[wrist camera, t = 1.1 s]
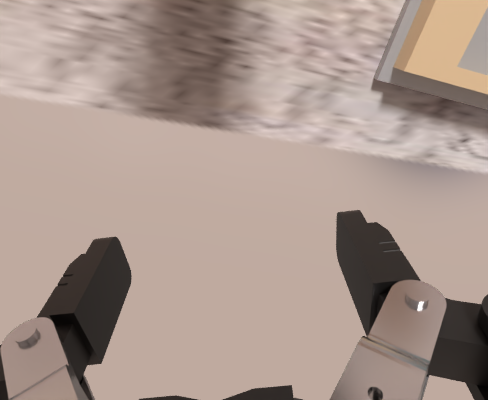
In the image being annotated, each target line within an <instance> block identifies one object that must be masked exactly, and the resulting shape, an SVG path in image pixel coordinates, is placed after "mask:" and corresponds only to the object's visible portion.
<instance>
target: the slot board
mask: <svg viewBox="0 0 488 400" xmlns="http://www.w3.org/2000/svg"><path fill="white" fill-rule="evenodd" d="M374 79H376V80H379V81H383V82H386V83H390V84H394V85H397V86H401V87H405V88H408V89H412V90H416V91H419V92H423V93H427V94H430V95H434V96H438V97H441V98H445V99H449V100H453V101H456V102H460V103H464V104H467V105H471V106H475V107H478V108H482V109H486V110H488V0H406V1H405V3H404V6H403V8H402V11H401V13H400V16H399V18H398V20H397V23H396V25H395V28H394V30H393V33H392V35H391V37H390V40H389V42H388V45H387V47H386V50H385V52H384V54H383V57H382V59H381V62H380V64H379V67H378V69H377V71H376V74H375V76H374Z"/></svg>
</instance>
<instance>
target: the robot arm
mask: <svg viewBox="0 0 488 400" xmlns="http://www.w3.org/2000/svg"><path fill="white" fill-rule="evenodd" d="M336 233H337V234H336V235H337V236H336V250H337V257H338V262H339V265H340V267H341V270H342V272H343V275H344V278H345V280H346V283H347V286H348V288H349V291H350V294H351V296H352V299H353V301H354V304H355V307H356V309H357V312H358V315H359V317H360V320H361V322H362V325H363V328H364V330H365V333H366V335H367V337H365V336H363V337H361V339H360V340H359V342H358V344H357V346H356V348H355V350H354V352H353V354H352V356H351V358H350V360H349V362H348V364H347V366H346V368H345V370H344V372H343V374H342V376H341V378H340V380H339V382H338V384H337V386H336V388H335V390H334V392H333V394H332V396H331V399H330V400H422V399H423V395H424V392H425V389H426V385H427V382H428V378H429V375H432V376H437V377H442V378H447V379H451V380H456V381H461V382H465V383H466V384H467V386H468V388H469V390H470V392H471V394H472V396H473V398H474V400H488V295H487V296H485V297H484V299H483V301H482V304H475V303H467V302H461V301H455V300H450V299H447V298H445V297H444V296H443V294H442V293H441V292H440V291H439V290H438V289H436V288H435V287H433V286H432V285H429V284H428V283H425V282H422V281H420V279H419V277H418V276H417V274H416V273H415V271H414V269H413V268H412V266H411V265H410V263H409V262H408V260H407V259H406V257H405V256H404V254H403V253H402V251H400V248H399V246H398V245H397V243H396V242H395V240H394V238H393V237H392V235H391V234H390V232H389V231H388V230H387V229H386V228H384V227H383V226H381V225H380V224H378V223H377V222H374V223H367V222H366V220H365V218H364V217H363V215H362V213H361V211H360V210H355V211H346V212H338V213H337V232H336ZM130 284H131V270H130V267H129V264H128V262H127V259H126V257H125V254H124V251H123V249H122V246H121V244H120V241H119V239H118V238H117V237H109V238H100V239H95V240H93V242H92V243H91V245H90V247H89V248H88V250H87V252H86V254H81V255H80V256H79V257H78V258H77V259H75V260H74V261H73V262H72V263H71V264H70V265H69V267H68V268H67V270H66V271H65V273H64V275H63V277H62V278H61V279H60V281H59V283H58V286H57V287H56V288H55V289H54V291H53V292H52V294H51V296H50V297H49V299H48V301H47V302H46V304H45V305H44V307H43V308H42V310H41V312H40V313H39V315H38V316H37V318H34V319H31V320H28V321H26V322H24V323H22V324H20V325H19V326H18V327H16V328H15V329H14V330H12V331H11V332H10V333H9V334H8V335H7V336H6V338H5V339H4V341H3V343H2V345H0V400H95V398H94V396H93V394H92V391H91V389H90V386H89V384H88V381H87V379H86V377H85V376H84V371H85V369H86V366H87V365H93V364H101V363H102V361H103V358H104V355H105V352H106V349H107V347H108V344H109V341H110V339H111V336H112V333H113V330H114V328H115V325H116V323H117V320H118V317H119V314H120V311H121V309H122V306H123V304H124V301H125V298H126V296H127V293H128V290H129V287H130ZM139 400H197V399H191V398H186V397H181V396H166V397H155V398H144V399H139ZM223 400H302V399H297V398H293V391H292V385H289V386H278V387H268V388H256V389H251V390H249V391H246V392H243V393H240V394H237V395H235V396H232V397H229V398H226V399H223Z"/></svg>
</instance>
